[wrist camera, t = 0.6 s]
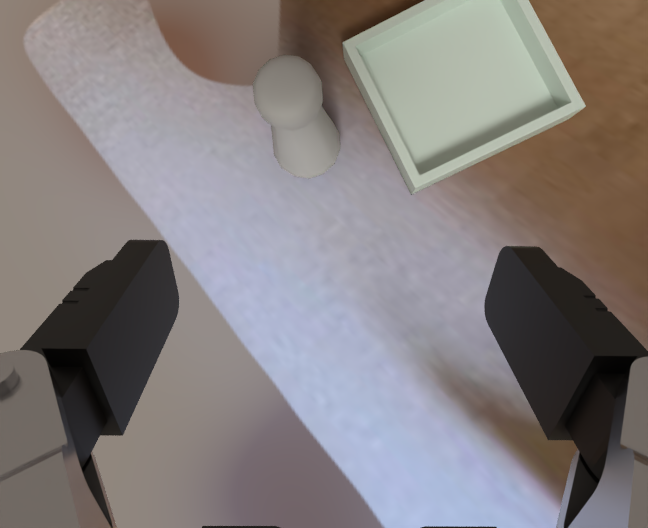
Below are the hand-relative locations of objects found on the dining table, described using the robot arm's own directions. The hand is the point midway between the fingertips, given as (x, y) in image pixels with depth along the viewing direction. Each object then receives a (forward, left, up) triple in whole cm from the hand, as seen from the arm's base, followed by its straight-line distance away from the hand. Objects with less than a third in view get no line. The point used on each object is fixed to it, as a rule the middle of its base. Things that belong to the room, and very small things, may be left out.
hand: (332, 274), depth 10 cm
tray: (-16, -11, -26) cm, 32 cm away
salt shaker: (-2, -12, -26) cm, 29 cm away
